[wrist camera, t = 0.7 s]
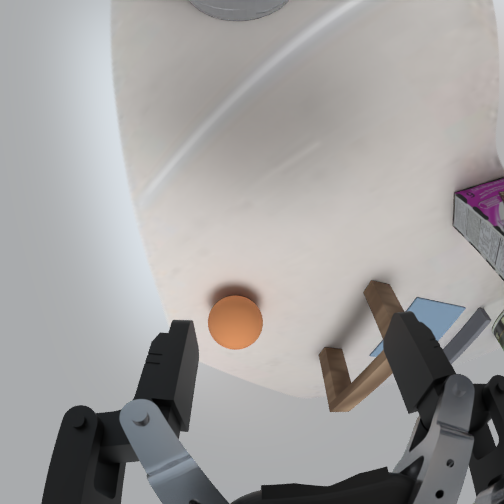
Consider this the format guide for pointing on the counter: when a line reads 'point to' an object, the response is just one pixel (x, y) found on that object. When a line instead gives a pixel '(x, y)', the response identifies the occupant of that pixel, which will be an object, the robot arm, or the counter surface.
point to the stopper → (467, 335)
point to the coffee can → (499, 329)
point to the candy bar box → (483, 221)
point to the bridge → (336, 372)
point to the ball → (235, 322)
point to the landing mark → (431, 317)
